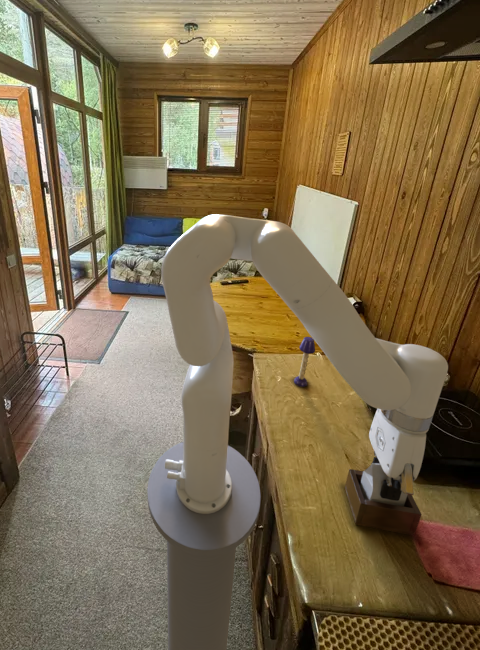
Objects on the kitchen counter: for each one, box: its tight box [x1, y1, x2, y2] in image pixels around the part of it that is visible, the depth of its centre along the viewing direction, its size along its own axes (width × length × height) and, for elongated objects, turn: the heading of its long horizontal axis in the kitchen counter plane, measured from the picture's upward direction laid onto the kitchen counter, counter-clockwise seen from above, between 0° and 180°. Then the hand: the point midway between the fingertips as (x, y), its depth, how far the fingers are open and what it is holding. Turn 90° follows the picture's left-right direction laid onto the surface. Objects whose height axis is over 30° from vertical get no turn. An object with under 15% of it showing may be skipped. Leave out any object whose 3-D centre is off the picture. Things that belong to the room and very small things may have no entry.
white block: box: [360, 462, 408, 507], centre depth 61 cm, size 4×7×10 cm, turn 88°
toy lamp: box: [293, 336, 316, 388], centre depth 99 cm, size 5×5×17 cm
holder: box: [344, 468, 422, 536], centre depth 62 cm, size 11×7×6 cm
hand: (383, 484), depth 61 cm, fingers closed on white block, 4 cm apart
